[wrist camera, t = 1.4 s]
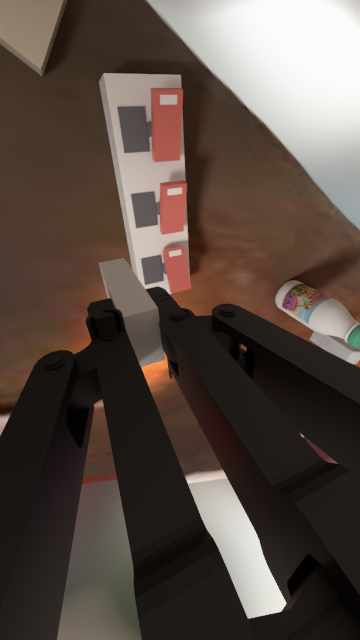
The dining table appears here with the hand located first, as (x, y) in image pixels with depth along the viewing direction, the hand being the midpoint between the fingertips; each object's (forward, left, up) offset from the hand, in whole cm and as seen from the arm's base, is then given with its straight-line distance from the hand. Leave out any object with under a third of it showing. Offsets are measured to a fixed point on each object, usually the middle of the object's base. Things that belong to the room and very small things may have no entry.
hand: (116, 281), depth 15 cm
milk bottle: (+42, -24, -27) cm, 55 cm away
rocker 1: (+12, +9, -20) cm, 25 cm away
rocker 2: (+12, 0, -20) cm, 23 cm away
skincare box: (+58, -42, -27) cm, 76 cm away
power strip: (+10, -4, -26) cm, 28 cm away
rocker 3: (+12, -9, -20) cm, 25 cm away
